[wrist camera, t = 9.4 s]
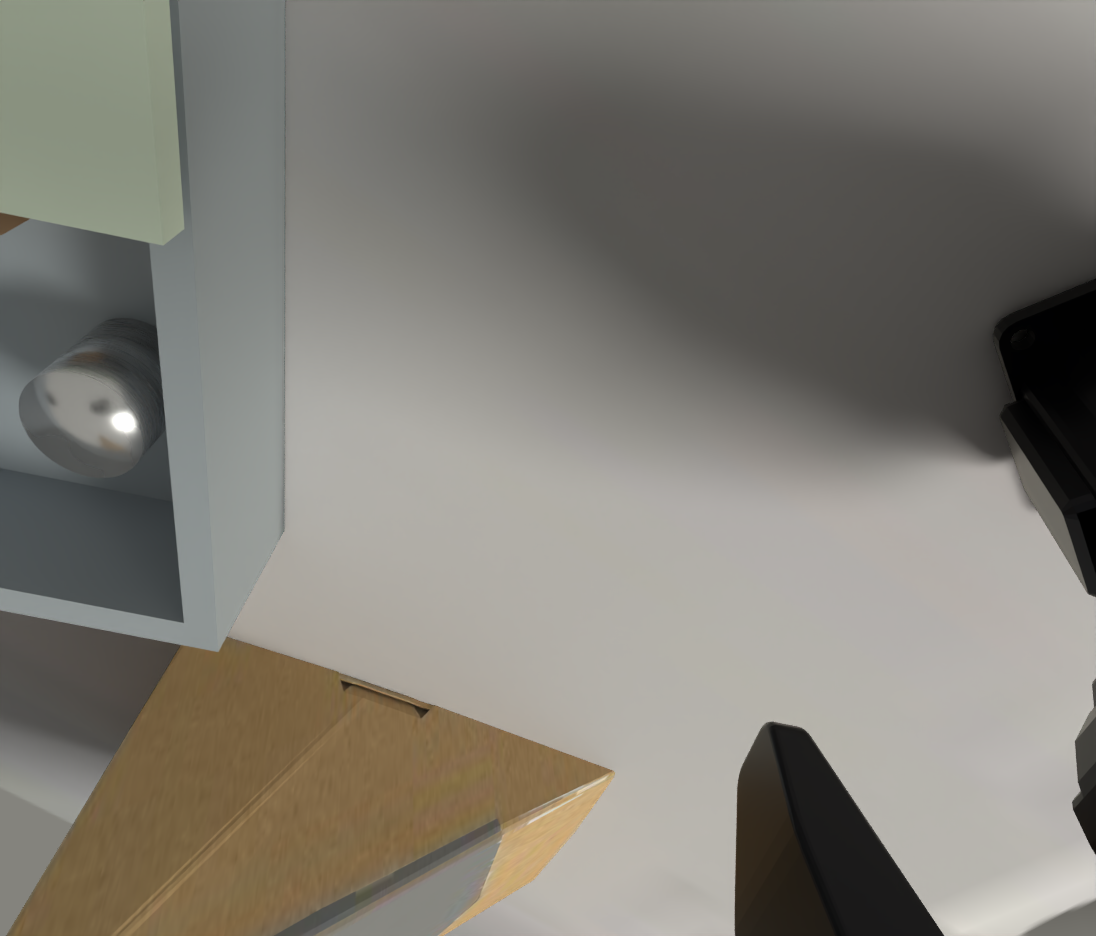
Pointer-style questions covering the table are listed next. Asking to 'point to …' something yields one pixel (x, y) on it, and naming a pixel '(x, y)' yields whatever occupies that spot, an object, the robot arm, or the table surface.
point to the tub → (165, 365)
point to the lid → (90, 116)
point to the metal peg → (99, 400)
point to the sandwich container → (304, 811)
